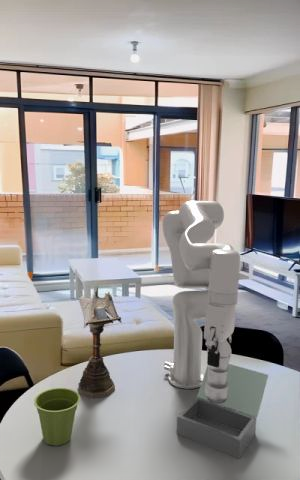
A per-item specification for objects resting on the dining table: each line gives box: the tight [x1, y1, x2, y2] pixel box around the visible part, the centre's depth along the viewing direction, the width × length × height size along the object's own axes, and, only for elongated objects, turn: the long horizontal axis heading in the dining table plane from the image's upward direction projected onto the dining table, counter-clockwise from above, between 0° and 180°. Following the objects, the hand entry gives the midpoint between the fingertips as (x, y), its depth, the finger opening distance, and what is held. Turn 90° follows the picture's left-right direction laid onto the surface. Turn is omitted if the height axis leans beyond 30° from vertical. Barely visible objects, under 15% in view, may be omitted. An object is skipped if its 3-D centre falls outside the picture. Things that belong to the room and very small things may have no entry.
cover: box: [196, 363, 269, 419], centre depth 121 cm, size 18×12×1 cm
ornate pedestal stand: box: [78, 284, 122, 399], centre depth 132 cm, size 17×13×35 cm
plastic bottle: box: [205, 338, 232, 404], centre depth 112 cm, size 6×7×20 cm
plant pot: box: [33, 387, 81, 447], centre depth 110 cm, size 12×12×11 cm
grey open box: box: [176, 397, 257, 459], centre depth 114 cm, size 18×12×5 cm, turn 57°
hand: (218, 360), depth 112 cm, fingers closed on plastic bottle, 6 cm apart
